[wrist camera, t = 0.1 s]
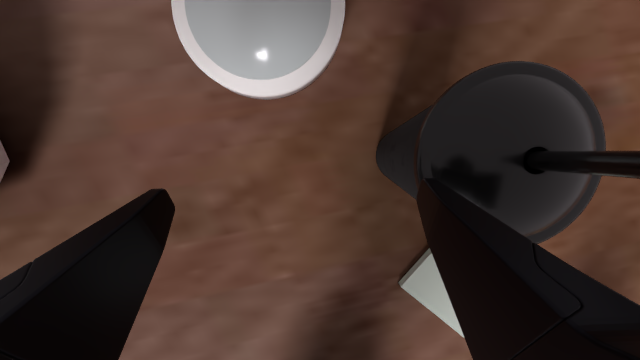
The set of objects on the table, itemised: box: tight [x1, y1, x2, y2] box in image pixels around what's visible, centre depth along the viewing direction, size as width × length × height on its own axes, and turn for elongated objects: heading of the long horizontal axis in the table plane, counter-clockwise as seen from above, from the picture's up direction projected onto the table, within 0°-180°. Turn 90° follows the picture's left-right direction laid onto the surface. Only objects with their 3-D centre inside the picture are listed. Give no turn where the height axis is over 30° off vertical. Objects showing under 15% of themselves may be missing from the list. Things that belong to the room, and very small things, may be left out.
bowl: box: [172, 0, 345, 100], centre depth 20 cm, size 12×12×5 cm
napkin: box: [398, 248, 464, 337], centre depth 24 cm, size 12×9×2 cm
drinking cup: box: [376, 61, 640, 244], centre depth 14 cm, size 8×8×20 cm
